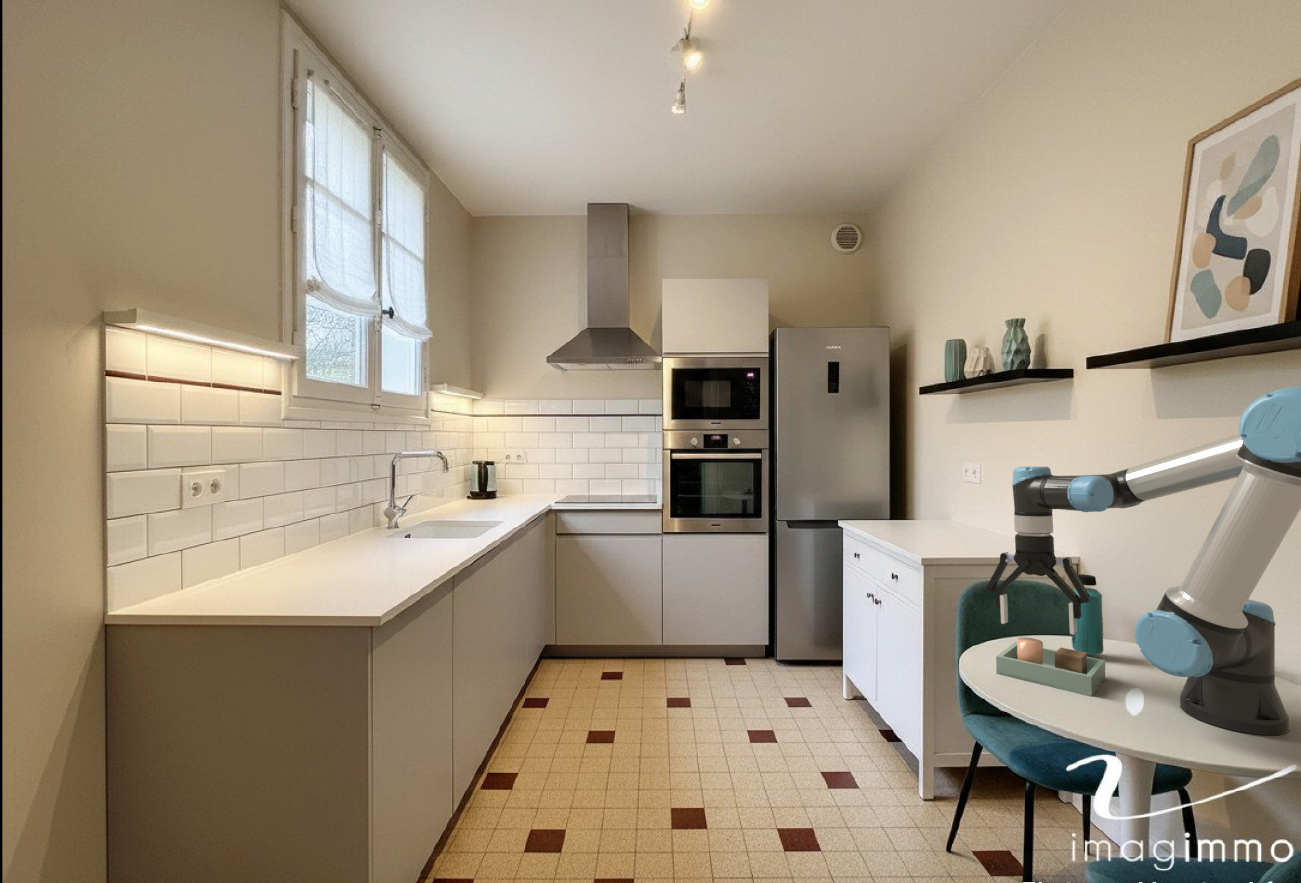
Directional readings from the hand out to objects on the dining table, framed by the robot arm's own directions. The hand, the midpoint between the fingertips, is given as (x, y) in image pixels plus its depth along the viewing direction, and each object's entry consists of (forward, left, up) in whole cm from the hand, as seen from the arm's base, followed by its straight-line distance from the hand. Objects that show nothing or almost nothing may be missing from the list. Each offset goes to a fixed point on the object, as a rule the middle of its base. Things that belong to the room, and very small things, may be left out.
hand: (1037, 627), depth 141 cm
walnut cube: (-6, -3, -10) cm, 12 cm away
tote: (-2, -1, -11) cm, 11 cm away
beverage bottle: (-5, -22, -11) cm, 25 cm away
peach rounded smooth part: (+1, +1, -10) cm, 10 cm away
